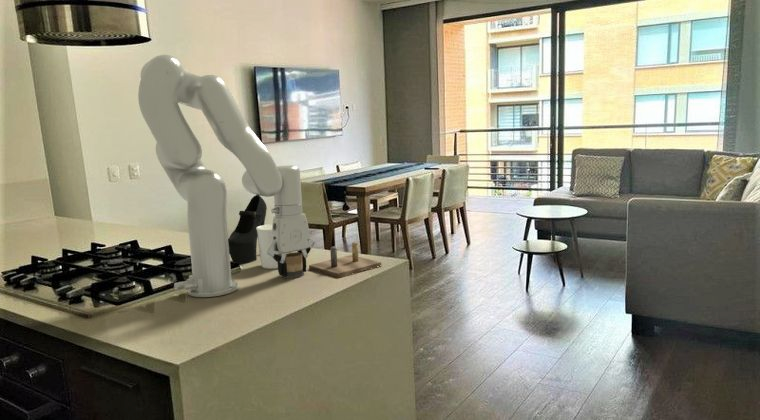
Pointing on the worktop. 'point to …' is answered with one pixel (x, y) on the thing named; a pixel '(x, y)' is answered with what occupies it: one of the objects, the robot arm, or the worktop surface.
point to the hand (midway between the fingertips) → (292, 272)
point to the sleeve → (294, 264)
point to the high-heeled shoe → (247, 231)
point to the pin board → (344, 263)
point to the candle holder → (266, 246)
